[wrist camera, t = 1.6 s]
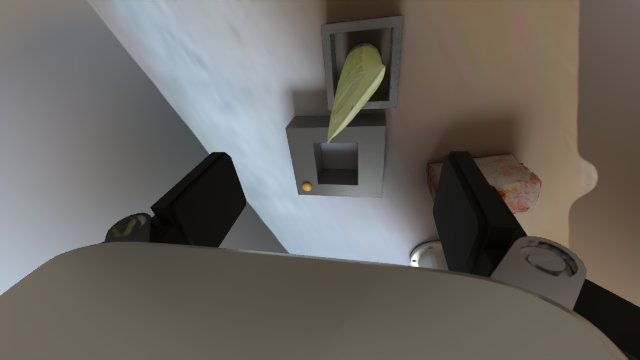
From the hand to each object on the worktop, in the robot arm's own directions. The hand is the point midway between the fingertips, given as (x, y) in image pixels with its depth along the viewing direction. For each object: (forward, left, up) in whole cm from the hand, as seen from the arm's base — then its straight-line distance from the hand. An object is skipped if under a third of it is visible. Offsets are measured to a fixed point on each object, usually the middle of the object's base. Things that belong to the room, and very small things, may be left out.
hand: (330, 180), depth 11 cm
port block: (+4, +14, -30) cm, 33 cm away
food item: (-18, +19, -30) cm, 40 cm away
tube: (0, 0, -30) cm, 30 cm away
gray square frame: (0, 0, -30) cm, 30 cm away
